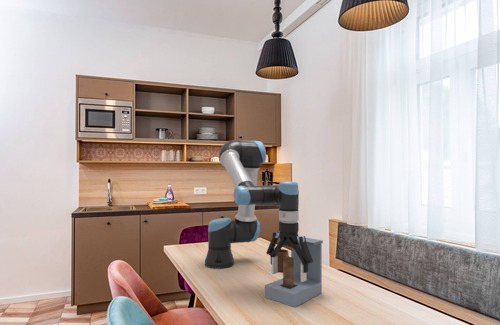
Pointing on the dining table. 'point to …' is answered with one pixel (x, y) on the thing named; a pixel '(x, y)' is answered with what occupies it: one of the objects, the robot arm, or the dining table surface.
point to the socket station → (301, 289)
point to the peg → (288, 272)
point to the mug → (281, 258)
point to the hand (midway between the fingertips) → (288, 277)
